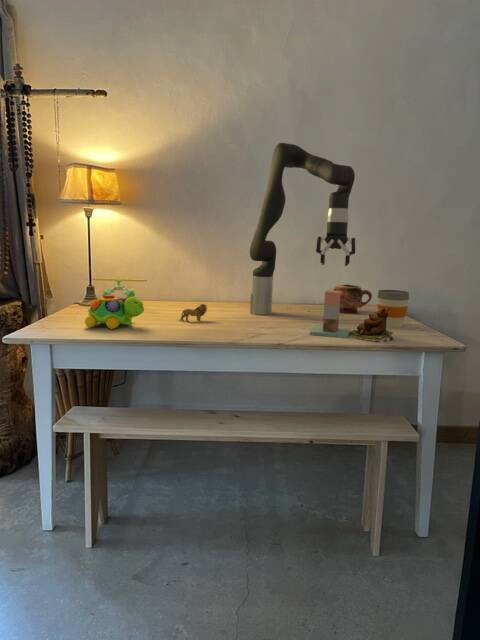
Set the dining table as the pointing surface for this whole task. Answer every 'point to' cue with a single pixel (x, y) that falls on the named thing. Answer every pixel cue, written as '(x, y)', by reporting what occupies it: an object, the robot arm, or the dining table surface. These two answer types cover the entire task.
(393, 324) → the reusable coffee cup
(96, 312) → the turtle toy
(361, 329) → the bear figurine
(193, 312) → the lion figurine
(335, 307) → the slate brick
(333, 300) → the red brick
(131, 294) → the toy helicopter
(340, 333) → the baseplate
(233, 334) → the dining table surface
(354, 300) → the brown ceramic mug
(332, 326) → the walnut brick
